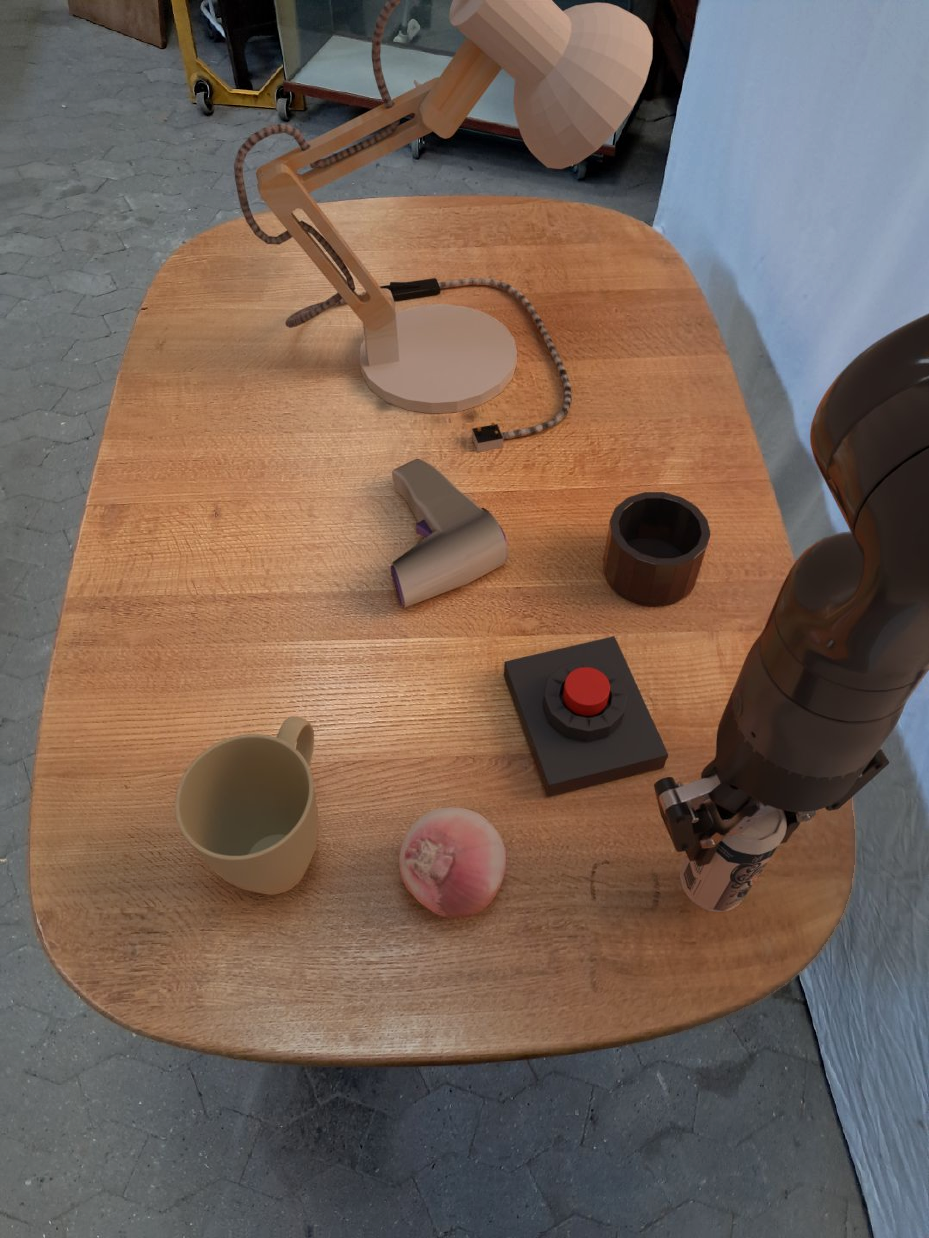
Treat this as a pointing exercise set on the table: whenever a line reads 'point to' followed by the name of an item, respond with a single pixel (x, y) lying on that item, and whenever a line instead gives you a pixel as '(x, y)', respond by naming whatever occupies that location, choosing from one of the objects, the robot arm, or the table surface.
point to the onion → (453, 861)
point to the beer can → (734, 864)
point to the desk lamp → (545, 112)
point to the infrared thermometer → (443, 536)
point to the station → (583, 719)
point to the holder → (655, 548)
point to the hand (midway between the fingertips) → (735, 840)
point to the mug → (253, 808)
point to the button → (586, 691)
